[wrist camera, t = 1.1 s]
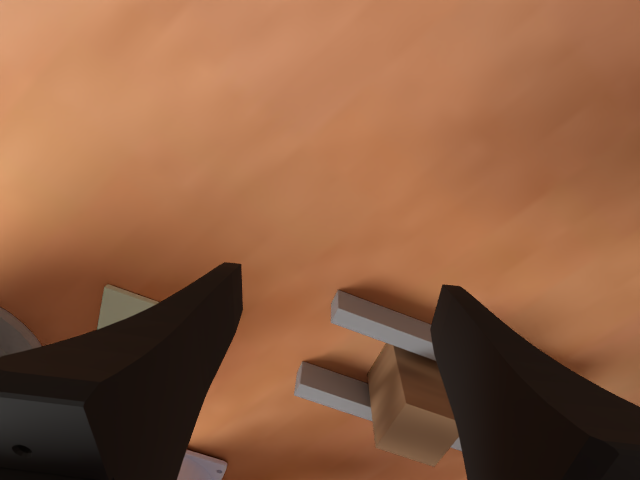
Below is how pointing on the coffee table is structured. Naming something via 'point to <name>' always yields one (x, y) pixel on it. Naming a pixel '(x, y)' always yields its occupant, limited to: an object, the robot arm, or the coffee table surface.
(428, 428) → the block
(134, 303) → the pad
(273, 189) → the coffee table surface
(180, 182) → the coffee table surface
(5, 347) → the mate gourd
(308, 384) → the channel
